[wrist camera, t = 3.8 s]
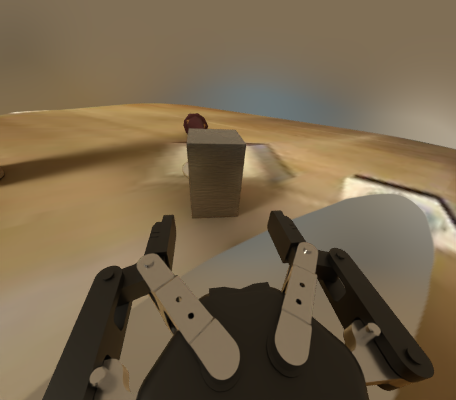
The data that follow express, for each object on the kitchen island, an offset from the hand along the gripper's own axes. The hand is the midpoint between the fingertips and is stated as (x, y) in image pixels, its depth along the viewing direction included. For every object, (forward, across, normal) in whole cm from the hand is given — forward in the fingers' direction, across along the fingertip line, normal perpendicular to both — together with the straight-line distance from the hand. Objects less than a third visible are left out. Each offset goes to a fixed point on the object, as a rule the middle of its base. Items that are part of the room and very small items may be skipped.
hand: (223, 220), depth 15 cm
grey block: (+10, 0, +6) cm, 12 cm away
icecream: (+46, +3, +6) cm, 47 cm away
